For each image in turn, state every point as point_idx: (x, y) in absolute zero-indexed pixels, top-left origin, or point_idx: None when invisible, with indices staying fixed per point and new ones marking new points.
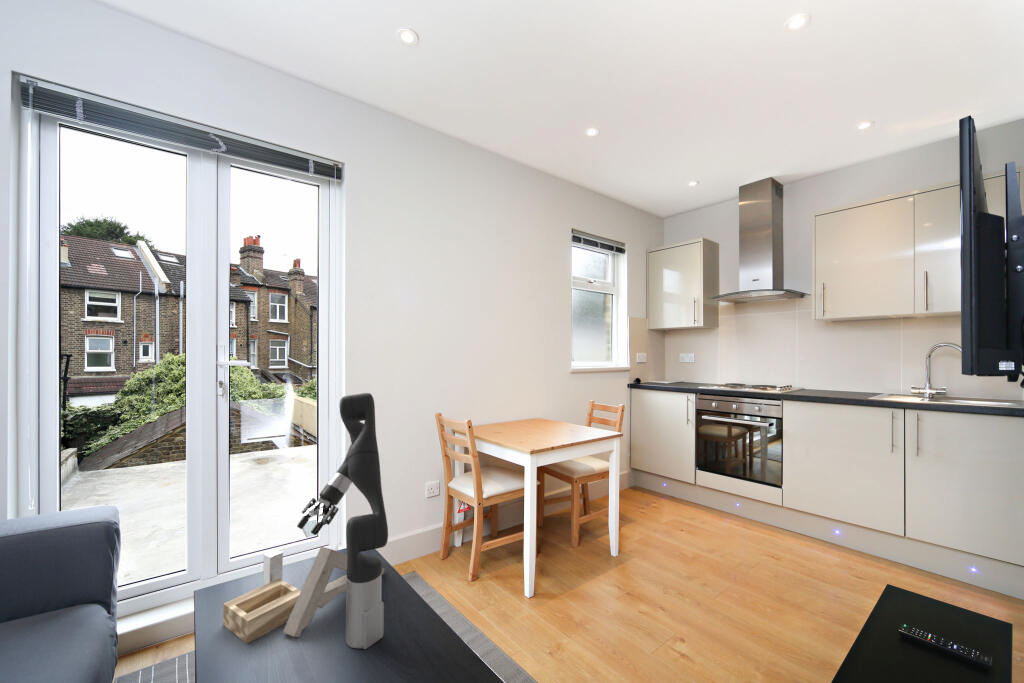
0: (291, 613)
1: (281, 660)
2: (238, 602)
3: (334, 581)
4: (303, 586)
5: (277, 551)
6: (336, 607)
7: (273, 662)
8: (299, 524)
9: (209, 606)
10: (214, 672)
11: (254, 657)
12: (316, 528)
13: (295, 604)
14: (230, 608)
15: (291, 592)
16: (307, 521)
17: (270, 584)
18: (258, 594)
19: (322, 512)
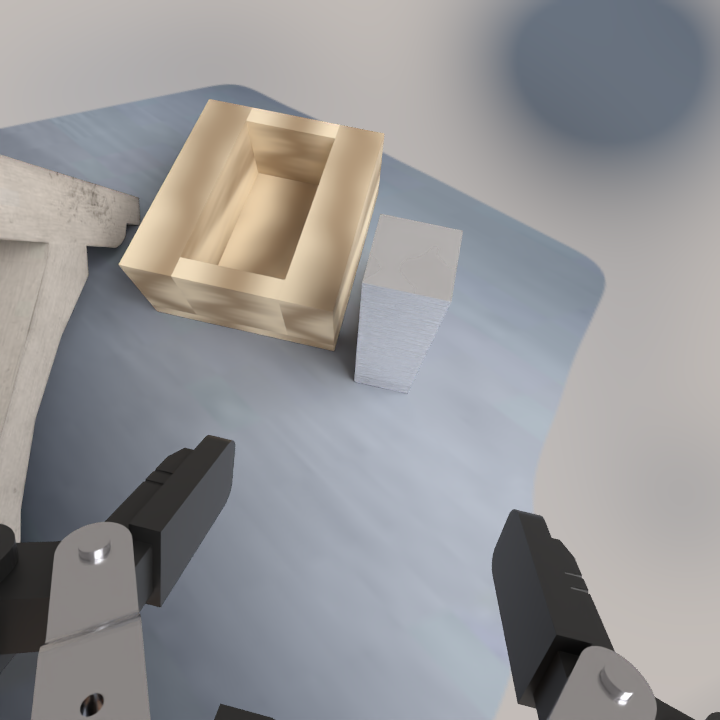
0: (104, 187)
1: (77, 147)
2: (337, 150)
3: (4, 374)
4: (35, 166)
5: (407, 279)
6: None
7: (95, 138)
8: (521, 528)
9: (521, 237)
10: (221, 88)
11: (162, 137)
12: (163, 475)
13: (86, 182)
14: (331, 123)
15: (178, 247)
16: (512, 667)
17: (327, 262)
18: (312, 202)
19: (37, 706)
